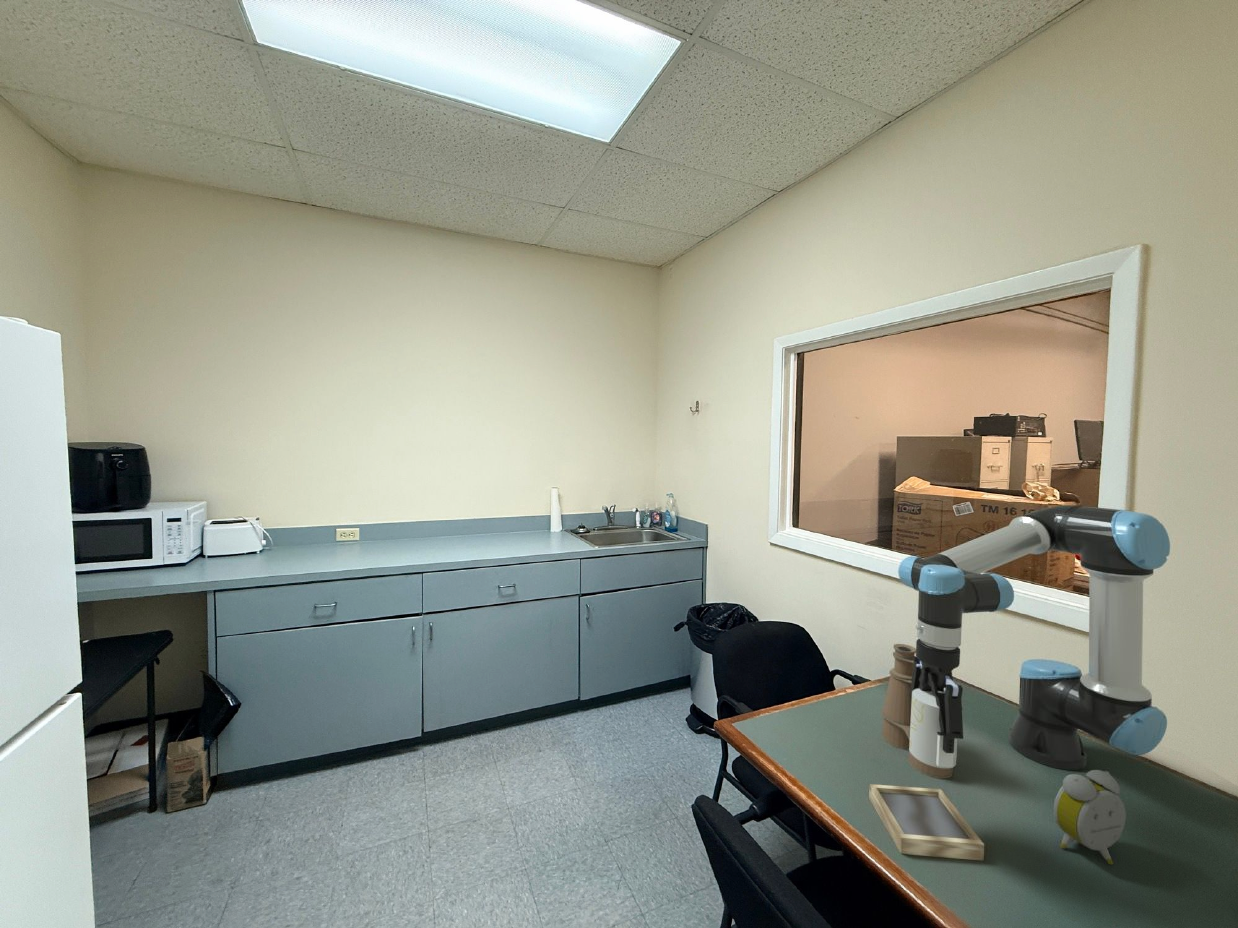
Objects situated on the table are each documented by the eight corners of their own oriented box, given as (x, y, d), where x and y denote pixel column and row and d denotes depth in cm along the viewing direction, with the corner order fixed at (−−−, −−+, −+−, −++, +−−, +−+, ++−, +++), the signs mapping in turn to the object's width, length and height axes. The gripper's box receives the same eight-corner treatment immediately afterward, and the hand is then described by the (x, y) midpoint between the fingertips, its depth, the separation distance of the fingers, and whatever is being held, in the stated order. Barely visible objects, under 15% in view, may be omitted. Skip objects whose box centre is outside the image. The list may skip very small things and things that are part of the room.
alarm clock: (1093, 832, 102) (1098, 761, 101) (1135, 860, 95) (1140, 784, 94) (1049, 842, 99) (1053, 769, 98) (1089, 871, 92) (1093, 793, 92)
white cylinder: (911, 738, 108) (914, 684, 107) (956, 752, 103) (959, 696, 102) (907, 757, 101) (910, 699, 100) (955, 773, 96) (958, 713, 96)
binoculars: (964, 778, 118) (969, 674, 117) (925, 780, 117) (929, 676, 116) (906, 727, 138) (909, 639, 137) (872, 729, 137) (875, 640, 136)
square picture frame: (940, 803, 109) (940, 789, 109) (983, 860, 95) (984, 844, 94) (869, 797, 111) (869, 783, 111) (900, 853, 96) (901, 837, 96)
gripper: (894, 623, 112) (890, 721, 113) (947, 664, 91) (941, 785, 92) (930, 624, 111) (924, 724, 112) (991, 667, 90) (984, 788, 91)
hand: (932, 751), depth 102 cm, fingers closed on white cylinder, 8 cm apart
